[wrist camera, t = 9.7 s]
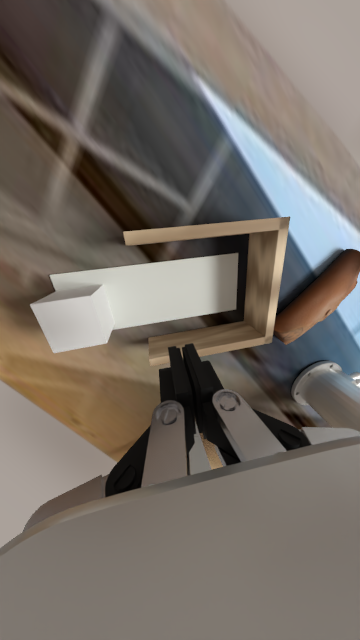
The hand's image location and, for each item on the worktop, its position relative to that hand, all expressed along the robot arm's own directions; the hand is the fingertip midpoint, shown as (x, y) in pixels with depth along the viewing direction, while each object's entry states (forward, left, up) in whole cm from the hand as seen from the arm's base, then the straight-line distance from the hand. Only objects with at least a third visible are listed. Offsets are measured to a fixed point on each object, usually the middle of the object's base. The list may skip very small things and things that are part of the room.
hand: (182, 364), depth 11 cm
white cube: (+10, -2, -16) cm, 19 cm away
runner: (+1, -1, -16) cm, 16 cm away
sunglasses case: (-26, +10, -17) cm, 33 cm away
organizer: (-6, +1, -16) cm, 17 cm away
